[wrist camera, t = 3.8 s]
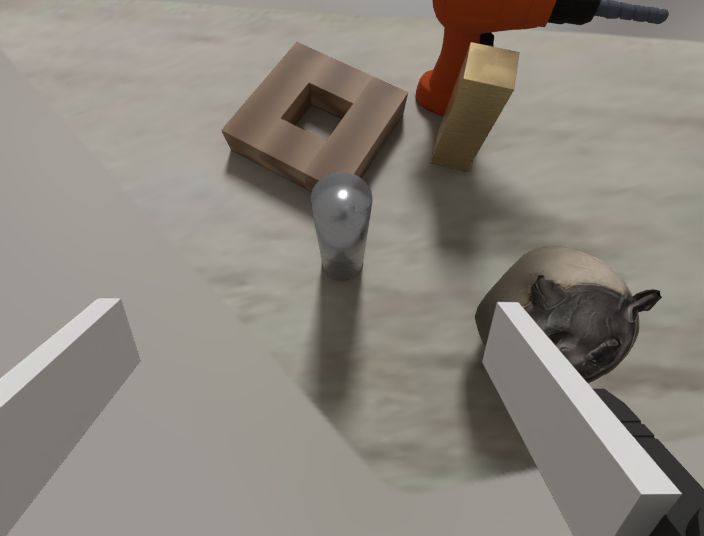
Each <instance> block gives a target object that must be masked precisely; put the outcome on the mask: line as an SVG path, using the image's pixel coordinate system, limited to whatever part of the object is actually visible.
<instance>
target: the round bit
mask: <svg viewBox="0 0 704 536" xmlns="http://www.w3.org/2000/svg"><path fill="white" fill-rule="evenodd" d="M311 206H312V211H313V216H314V222H315V227H316V233H317V238H318V243H319V249H320V254H321V259H322V265H323V268H324V270H325V272H326V273H327V274H328V275H329V276H330V277H332V278H334V279H336V280H349V279H351V278H353V277H355V276H356V275H357V274H358V273H359V272H360V270H361V268H362V265H363V259H364V253H365V246H366V240H367V233H368V227H369V220H370V214H371V207H372V193H371V190H370V188H369V186H368V185H367V183H366V182H365V181H364V180H363V179H361V178H360V177H358V176H356V175H354V174H351V173H347V172H336V173H332V174H329V175H327V176H325V177H323V178H322V179H320V180H319V181H318V182H317V183H316V185H315V186H314V188H313V190H312V193H311Z"/></svg>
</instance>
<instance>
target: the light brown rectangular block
mask: <svg viewBox="0 0 704 536" xmlns="http://www.w3.org/2000/svg"><path fill="white" fill-rule="evenodd" d="M519 53H520V52H515V51H511V50H506V49H501V48H496V47H491V46H487V45H482V44H477V43H472V42H471V44H470V46H469V49H468V52H467V54H466V57H465V60H464V62H463V65H462V68H461V71H460V73H459V76H458V79H457V81H456V84H455V87H454V89H453V92H452V95H451V97H450V100H449V103H448V106H447V108H446V111H445V114H444V116H443V119H442V122H441V124H440V127H439V130H438V132H437V136H436V141H435V145H434V149H433V154H432V158H431V163H432V164H436V165H441V166H445V167H449V168H454V169H458V170H462V171H466V172H467V170H468V169H469V167H470V165H471V163H472V162H473V160H474V158H475V156H476V155H477V153H478V151H479V150H480V148H481V146H482V144H483V143H484V141H485V139H486V137H487V136H488V134H489V132H490V131H491V129H492V127H493V125H494V124H495V122H496V120H497V118H498V117H499V115H500V113H501V111H502V110H503V108H504V106H505V105H506V103H507V101H508V99H509V98H510V96H511V94H512V92H513V91H514V88H515V81H516V74H517V67H518V60H519Z"/></svg>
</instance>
